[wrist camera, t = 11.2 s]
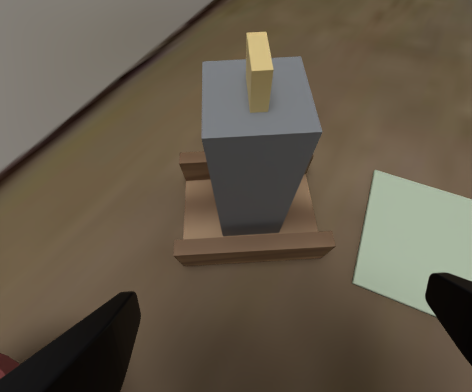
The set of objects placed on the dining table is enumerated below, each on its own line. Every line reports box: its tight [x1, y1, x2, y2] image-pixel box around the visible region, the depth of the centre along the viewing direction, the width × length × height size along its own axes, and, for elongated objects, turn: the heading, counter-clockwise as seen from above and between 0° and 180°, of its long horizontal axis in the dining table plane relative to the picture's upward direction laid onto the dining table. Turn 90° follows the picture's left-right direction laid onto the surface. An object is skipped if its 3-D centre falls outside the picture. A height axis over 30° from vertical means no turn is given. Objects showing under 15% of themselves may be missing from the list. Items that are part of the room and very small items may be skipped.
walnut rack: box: [173, 151, 336, 266], centre depth 22 cm, size 9×12×4 cm
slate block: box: [202, 32, 322, 236], centre depth 16 cm, size 5×5×15 cm
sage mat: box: [352, 170, 472, 317], centre depth 22 cm, size 12×9×1 cm
